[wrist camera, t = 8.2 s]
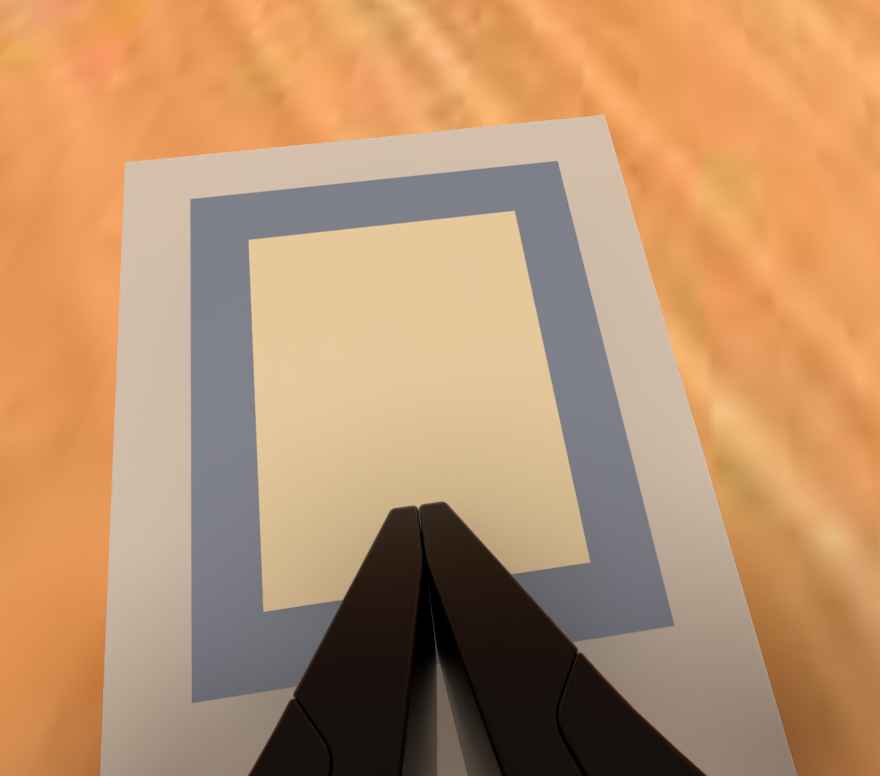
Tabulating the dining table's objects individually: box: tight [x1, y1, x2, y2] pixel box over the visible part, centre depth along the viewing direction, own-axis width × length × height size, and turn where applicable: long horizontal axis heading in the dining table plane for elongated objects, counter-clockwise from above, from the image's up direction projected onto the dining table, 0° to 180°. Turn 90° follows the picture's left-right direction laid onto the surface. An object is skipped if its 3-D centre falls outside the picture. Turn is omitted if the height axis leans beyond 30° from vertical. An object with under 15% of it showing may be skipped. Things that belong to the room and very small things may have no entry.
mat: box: [100, 115, 798, 776], centre depth 15 cm, size 24×16×1 cm, turn 8°
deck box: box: [190, 161, 675, 703], centre depth 14 cm, size 2×10×12 cm
